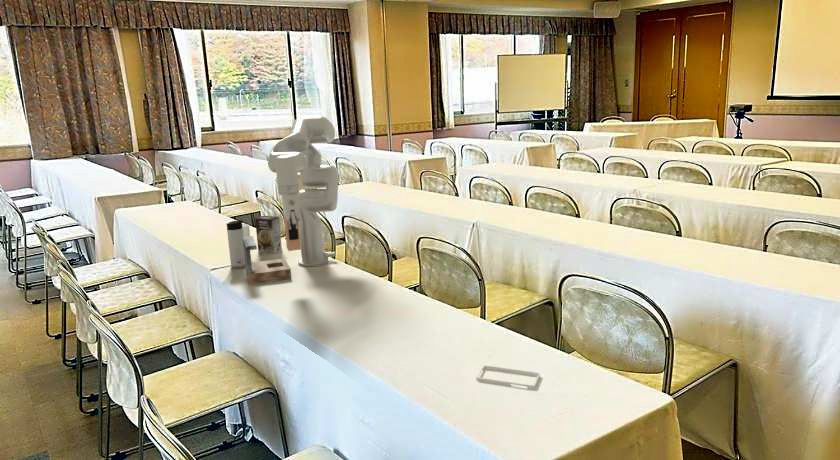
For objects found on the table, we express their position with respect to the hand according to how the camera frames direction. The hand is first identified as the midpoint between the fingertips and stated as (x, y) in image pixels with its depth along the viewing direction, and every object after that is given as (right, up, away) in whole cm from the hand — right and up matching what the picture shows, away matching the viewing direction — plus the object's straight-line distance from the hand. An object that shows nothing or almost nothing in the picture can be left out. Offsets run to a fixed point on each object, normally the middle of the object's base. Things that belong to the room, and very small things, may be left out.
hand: (292, 237), depth 229 cm
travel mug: (-29, -13, +32) cm, 45 cm away
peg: (0, -4, +1) cm, 4 cm away
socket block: (-14, -16, +18) cm, 28 cm away
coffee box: (-21, -7, +54) cm, 58 cm away
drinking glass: (-30, -10, +44) cm, 54 cm away
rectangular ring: (+70, -36, -72) cm, 106 cm away
